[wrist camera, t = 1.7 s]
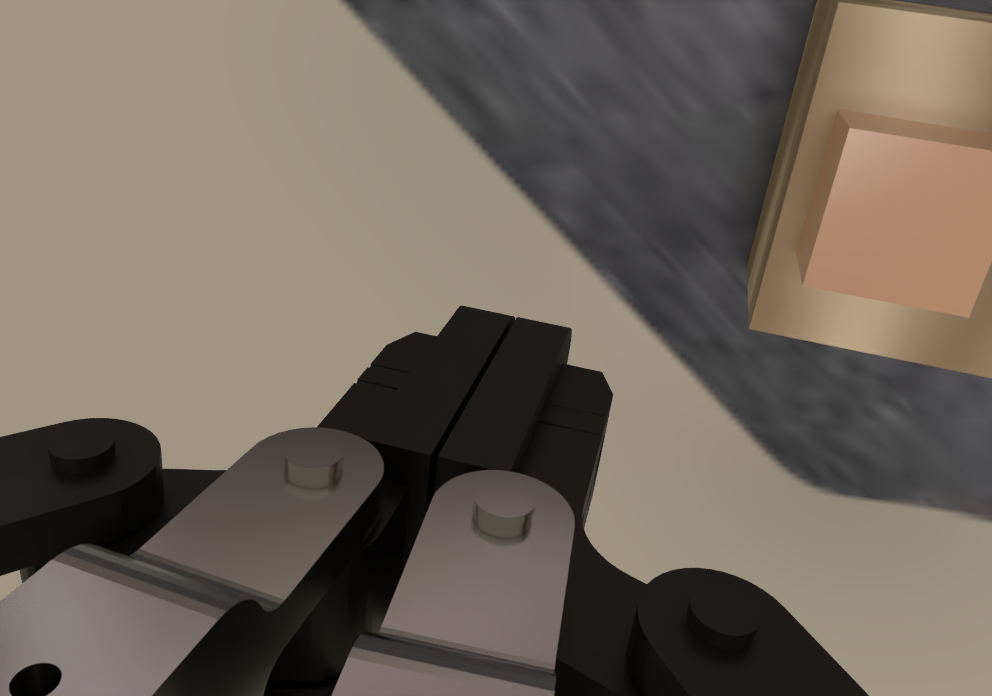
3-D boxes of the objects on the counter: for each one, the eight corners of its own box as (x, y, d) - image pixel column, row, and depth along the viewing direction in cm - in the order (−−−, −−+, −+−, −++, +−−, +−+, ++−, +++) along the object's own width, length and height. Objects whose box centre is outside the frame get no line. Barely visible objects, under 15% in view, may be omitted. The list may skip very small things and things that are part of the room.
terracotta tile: (1003, 135, 21) (1033, 157, 19) (947, 282, 23) (969, 317, 21) (838, 108, 22) (849, 127, 20) (796, 254, 24) (802, 285, 22)
